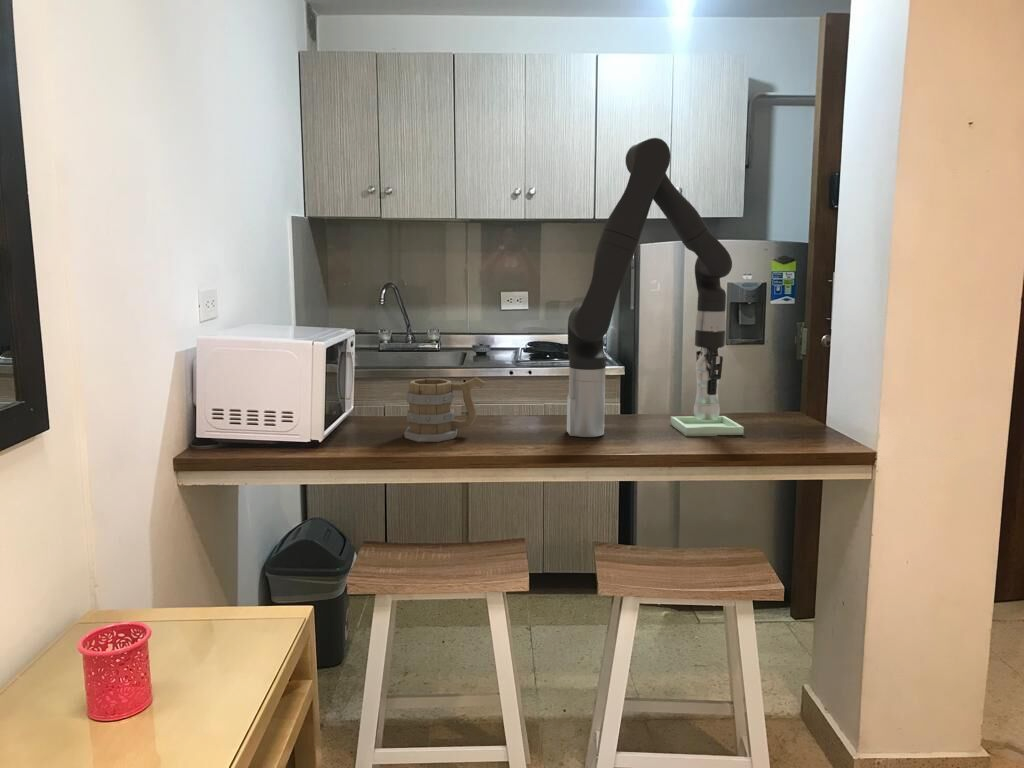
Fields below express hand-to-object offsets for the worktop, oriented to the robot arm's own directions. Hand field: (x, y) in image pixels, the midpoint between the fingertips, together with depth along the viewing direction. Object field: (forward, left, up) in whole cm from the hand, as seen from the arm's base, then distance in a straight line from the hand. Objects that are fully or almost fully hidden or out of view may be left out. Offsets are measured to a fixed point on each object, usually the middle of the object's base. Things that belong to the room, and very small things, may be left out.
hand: (707, 392), depth 193 cm
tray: (0, 0, -10) cm, 10 cm away
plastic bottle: (0, 0, -8) cm, 8 cm away
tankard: (-69, -4, -10) cm, 69 cm away
